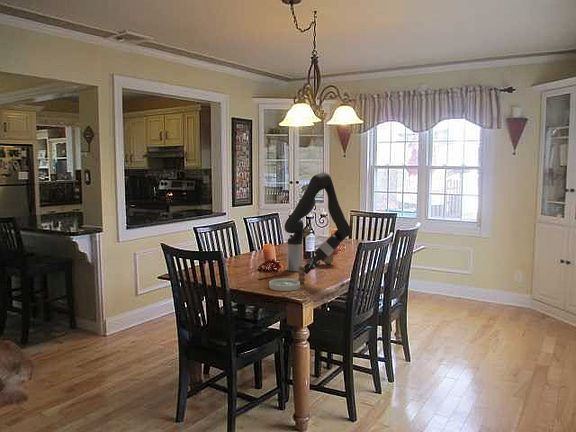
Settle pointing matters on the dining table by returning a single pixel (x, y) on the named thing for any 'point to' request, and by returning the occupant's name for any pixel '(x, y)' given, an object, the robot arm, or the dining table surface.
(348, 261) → the dining table surface
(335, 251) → the decorative mushroom
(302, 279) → the bead stack
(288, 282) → the tray
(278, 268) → the decorative berry sprig
